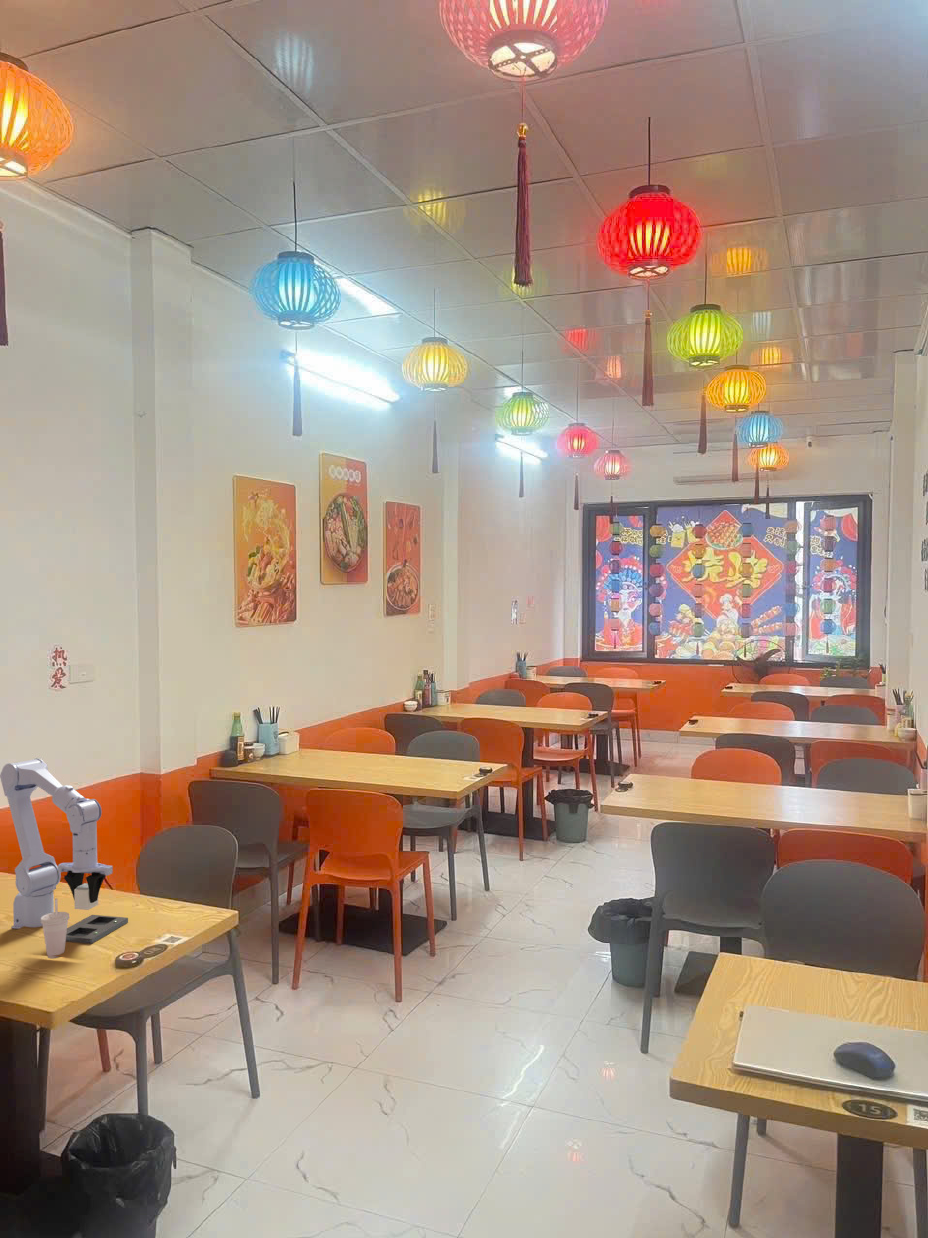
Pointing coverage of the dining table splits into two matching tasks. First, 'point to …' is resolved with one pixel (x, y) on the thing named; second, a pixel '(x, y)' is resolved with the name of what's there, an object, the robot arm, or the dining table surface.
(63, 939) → the smoothie
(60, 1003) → the dining table surface
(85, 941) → the panel
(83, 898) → the beige rectangular block
